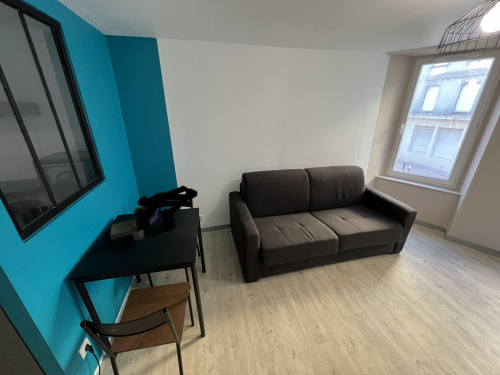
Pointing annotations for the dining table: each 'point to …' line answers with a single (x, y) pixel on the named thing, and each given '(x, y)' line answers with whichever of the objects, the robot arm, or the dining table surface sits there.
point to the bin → (122, 229)
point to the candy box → (152, 216)
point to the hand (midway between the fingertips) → (137, 228)
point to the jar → (137, 234)
